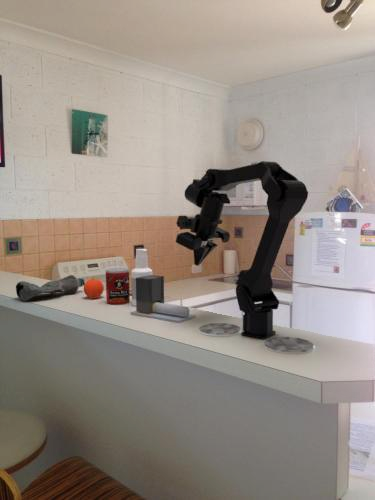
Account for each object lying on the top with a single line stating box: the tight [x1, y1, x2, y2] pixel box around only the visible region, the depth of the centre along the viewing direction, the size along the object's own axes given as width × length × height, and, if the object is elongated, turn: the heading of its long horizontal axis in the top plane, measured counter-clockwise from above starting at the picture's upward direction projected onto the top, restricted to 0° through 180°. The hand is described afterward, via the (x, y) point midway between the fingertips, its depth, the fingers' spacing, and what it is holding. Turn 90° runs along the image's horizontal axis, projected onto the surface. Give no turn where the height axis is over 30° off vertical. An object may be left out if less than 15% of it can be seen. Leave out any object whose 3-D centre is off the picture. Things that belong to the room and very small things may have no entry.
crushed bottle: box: [15, 274, 86, 302], centre depth 165 cm, size 13×7×25 cm
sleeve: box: [135, 274, 165, 313], centre depth 137 cm, size 5×7×10 cm
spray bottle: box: [130, 248, 154, 307], centre depth 149 cm, size 7×7×18 cm
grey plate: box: [130, 302, 197, 324], centre depth 134 cm, size 18×8×4 cm, turn 54°
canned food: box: [105, 267, 131, 306], centre depth 153 cm, size 8×8×11 cm
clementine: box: [83, 277, 106, 299], centre depth 161 cm, size 8×7×7 cm
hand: (196, 265), depth 132 cm, fingers closed
